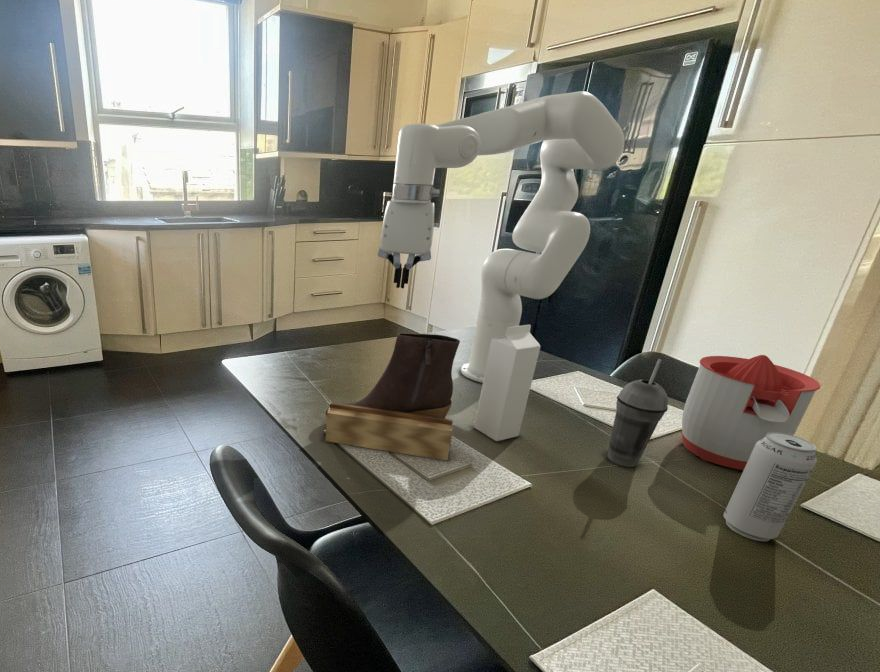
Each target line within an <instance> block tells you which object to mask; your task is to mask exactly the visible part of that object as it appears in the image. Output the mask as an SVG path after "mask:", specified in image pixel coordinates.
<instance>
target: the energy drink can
mask: <svg viewBox="0 0 880 672" xmlns="http://www.w3.org/2000/svg"><path fill="white" fill-rule="evenodd" d="M816 450H817V446H816V445H815V444H814V443H812V442H810V441H809V440H807V439H804V438H803V437H800V436H796V435H789V434H785V433H779V432H769V433H767V435H766V437H765V438H763V439H761V440H759V441H758V442H757V443H756V445H755V447H754V449H753V451H752V453H751V456H750V458H749V460H748V462H747V464H746V466H745V469H744V470H742V473H741V475H740V478H739V480H738V482H737V484H736V486H735V488H734V491H733V493H732V495H731V497H730V499H729V501H728V504H727V506H726V508H725V510H724V512H723V518H724V520H725V524H726V526H727V527H728V528H729V529H730V530H732V531H733V532H734V533H736V534H738V535H740V536H742V537H744V538H746V539H749V540H753V541H757V542H768V541H770V540H771V539H776V538H778V537H779V535H780V534H781V531H782V530H783V527H784V526H785V523H786V522H787V520H788V518H789V516H790V514H791V512H792V510H793V508H794V506H795V505H796V503H797V501H798V499H799V497H800V495H801V493H802V491H803V489H804V488H805V485H806V483H807V482H808V480H809V478H810V476H811V474H812V472H813V470H814V468H815V466H816V464H817V463H818V459H817V455H816V452H815V451H816Z"/></svg>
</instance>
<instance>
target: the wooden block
mask: <svg viewBox="0 0 880 672" xmlns="http://www.w3.org/2000/svg"><path fill="white" fill-rule="evenodd" d="M329 407H330V408H329ZM329 407H328V408H329V410H328V409H327V410H328V413H327V422H326V424H325V425H326V426H325V427H326V428H325V439H324V440H325V442H328V443H333V444H334V443H336V444H341V445H347V446H354V447H358V448H359V447H360V448H367V449H373V450H379V451H385V452H391V453H397V454H404V455H410V456H416V457H423V458H429V459H433V460H435V459H436V460H442V461H448V459H449V453H450V448H451V444H452V443H451V442H452V438H453V432H454V429H453V422H454V421H453V419H452V418H446V417H445V418H439V417H432V416H425V415H418V414H411V413H403V412H396V411H389V410H382V409H375V408H368V407H361V406H353V405H346V404H339V403H338V402H331V401H330V402H329Z"/></svg>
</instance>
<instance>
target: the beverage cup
mask: <svg viewBox="0 0 880 672" xmlns="http://www.w3.org/2000/svg"><path fill="white" fill-rule="evenodd" d="M661 363H662V359H661V358H658V359H657V361H656V363H655V366H654V369H653V371H652V373H651V376H650V379H637V380H633V381H631V382H628V383H627V384H626V385H624V386H623V387H622V389H621V390H620V391H619V393H618V395H617V396H616V399H617V400H616V404H615V408H616V411H615V416H614V420H613V426H612V431H611V435H610V440H609V445H608V453H607V459H609V460H610V461H611V462H612V463H615V464H616V465H620V466H623V467H627V468H633V467H636V466H638V463H639V461H640V460H641V458H642V457H643V456H642V455H643V454H644V452H645V450H646V449H647V446H648V444H649V442H650V441H651V438H652V436H653V434H654V433H655V430H656V428H657V426H658V424H659V422H660V421H661V420H662V418H663V417H664V416H665V413H666V412H667V411H668V410H669V408H668V407H669V397H668V394H667V392H666V390H665V389H664V388H663V387H662V386H661V385H660V384H659V383H657V382H655V381H654V380H655V378H656V375H657V372H658V370H659V368H660V365H661Z"/></svg>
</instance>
